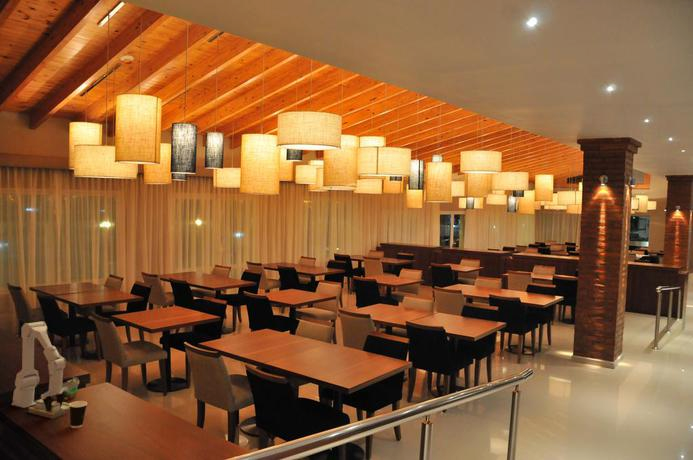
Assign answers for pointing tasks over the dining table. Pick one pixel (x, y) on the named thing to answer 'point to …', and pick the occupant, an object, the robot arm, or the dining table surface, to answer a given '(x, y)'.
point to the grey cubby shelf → (45, 413)
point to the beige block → (40, 404)
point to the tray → (65, 405)
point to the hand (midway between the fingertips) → (53, 408)
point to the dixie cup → (77, 413)
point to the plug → (55, 407)
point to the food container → (71, 388)
